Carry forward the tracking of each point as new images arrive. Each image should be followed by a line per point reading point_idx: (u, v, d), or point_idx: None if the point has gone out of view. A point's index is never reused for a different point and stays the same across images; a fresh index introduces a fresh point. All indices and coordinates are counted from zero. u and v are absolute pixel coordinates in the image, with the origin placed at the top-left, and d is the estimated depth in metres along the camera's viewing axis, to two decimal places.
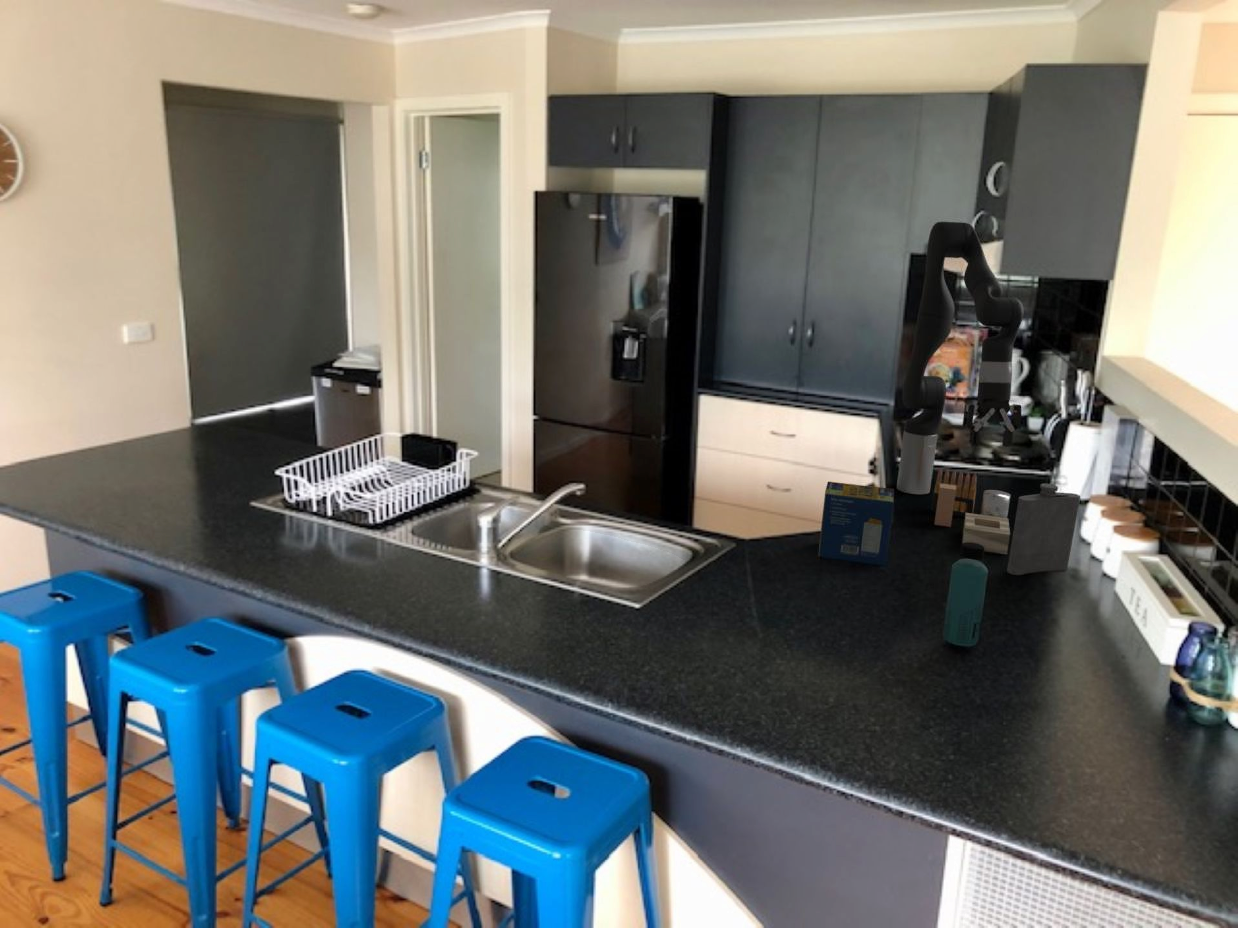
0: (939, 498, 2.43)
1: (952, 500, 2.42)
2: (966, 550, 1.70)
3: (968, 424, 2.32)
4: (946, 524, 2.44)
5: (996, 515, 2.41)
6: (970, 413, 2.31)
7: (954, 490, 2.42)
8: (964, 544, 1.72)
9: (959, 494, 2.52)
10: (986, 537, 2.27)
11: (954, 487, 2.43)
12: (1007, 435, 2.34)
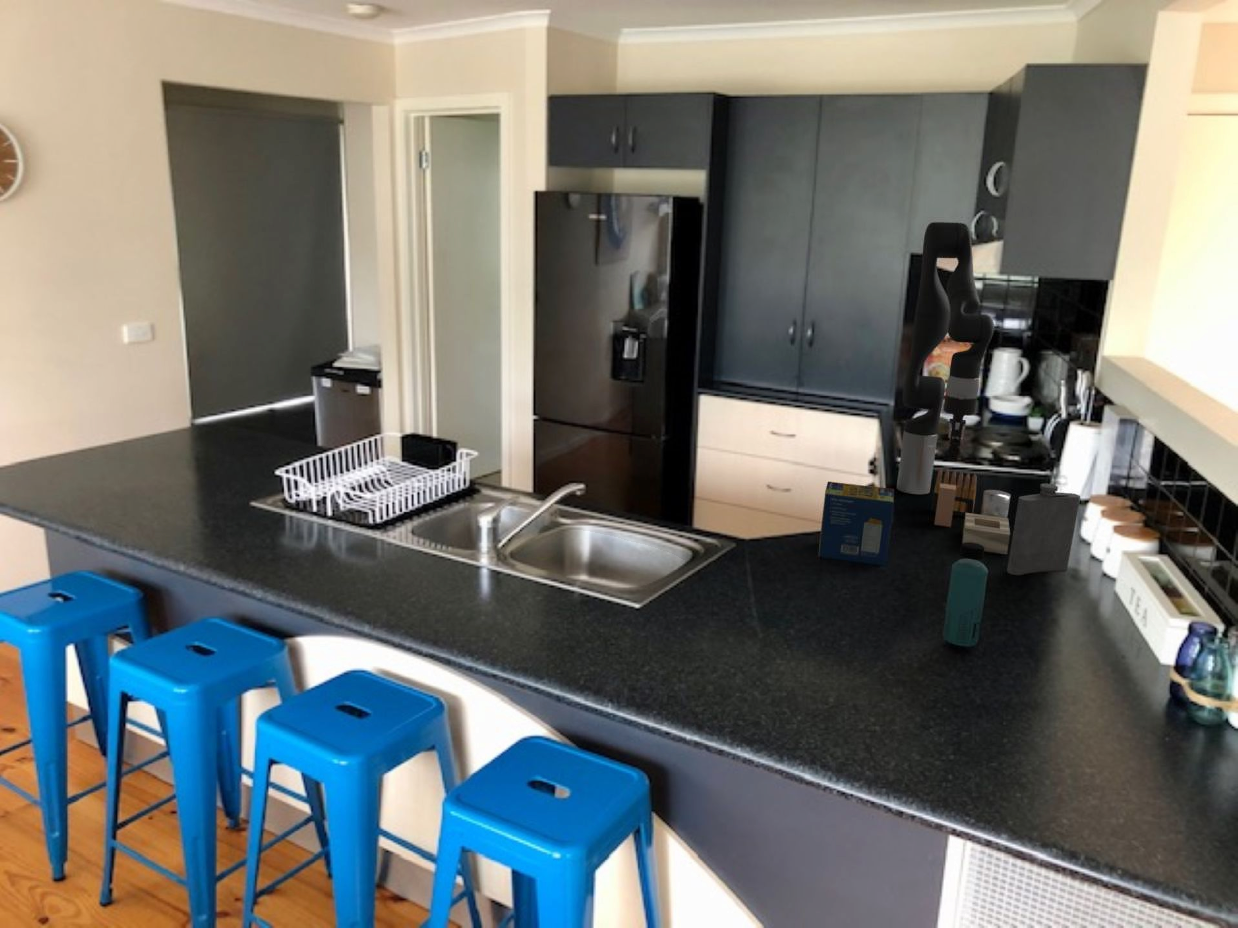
0: (939, 498, 2.43)
1: (952, 500, 2.42)
2: (966, 550, 1.70)
3: None
4: (946, 524, 2.44)
5: (996, 515, 2.41)
6: (961, 431, 2.33)
7: (954, 490, 2.42)
8: (964, 544, 1.72)
9: (959, 494, 2.52)
10: (986, 537, 2.27)
11: (954, 487, 2.43)
12: None
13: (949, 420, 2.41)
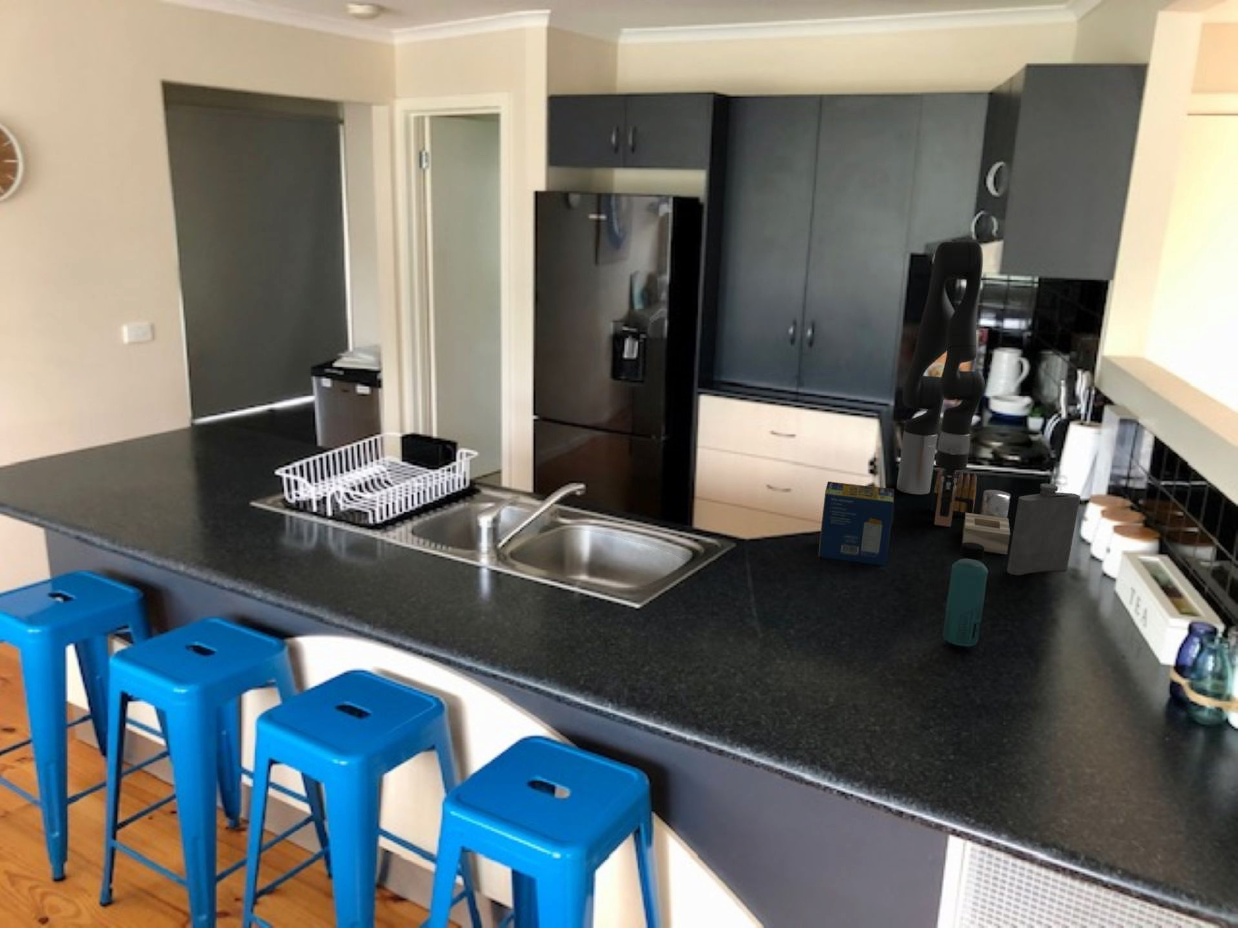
0: (939, 498, 2.43)
1: (952, 500, 2.42)
2: (966, 550, 1.70)
3: (951, 499, 2.39)
4: (946, 524, 2.44)
5: (996, 515, 2.41)
6: (952, 490, 2.38)
7: None
8: (964, 544, 1.72)
9: (959, 494, 2.52)
10: (986, 537, 2.27)
11: None
12: None
13: None
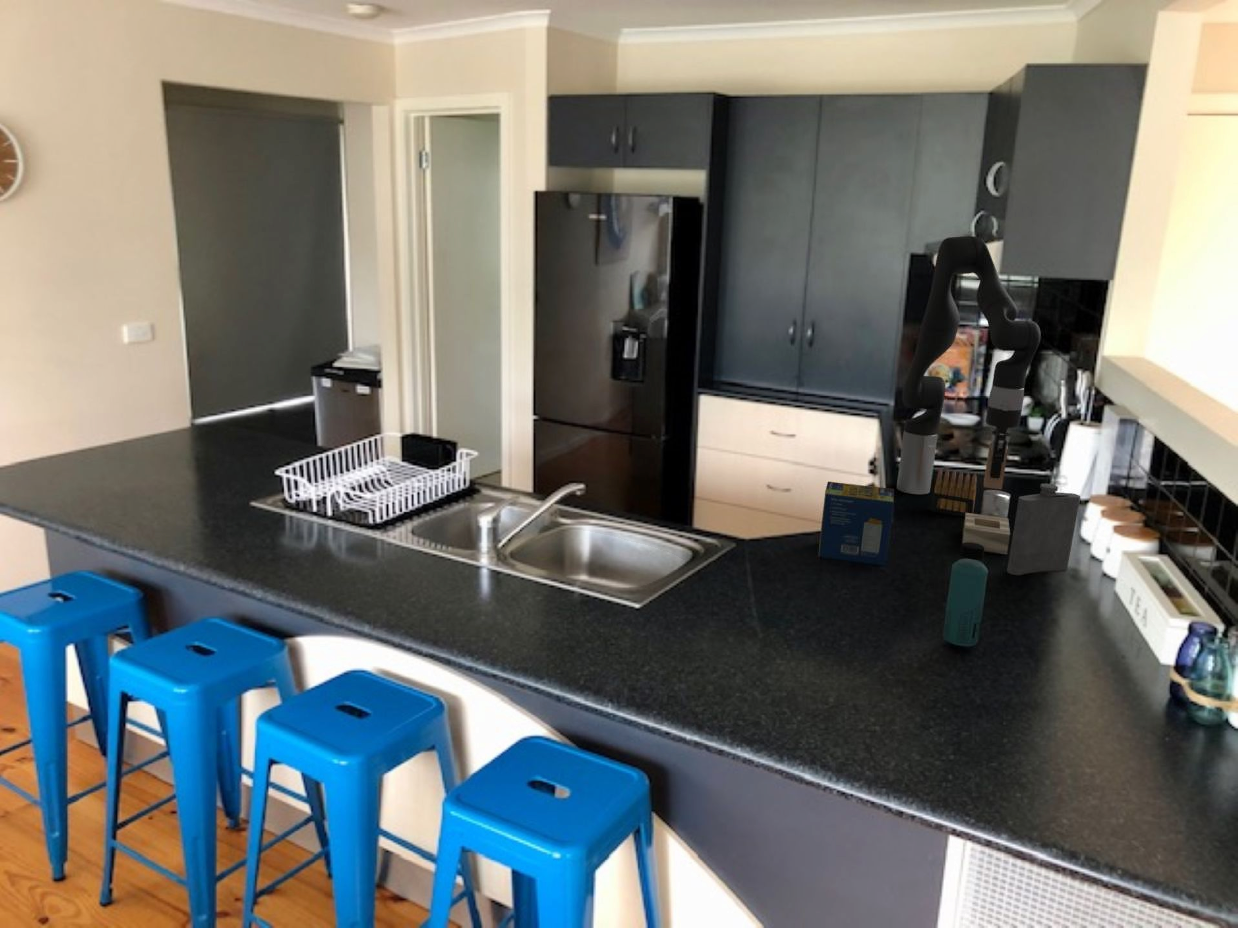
0: (989, 458, 2.26)
1: (1004, 460, 2.25)
2: (966, 550, 1.70)
3: (1003, 459, 2.22)
4: (997, 486, 2.27)
5: (996, 515, 2.41)
6: (1005, 449, 2.21)
7: None
8: (964, 544, 1.72)
9: (959, 494, 2.52)
10: (986, 537, 2.27)
11: None
12: None
13: (992, 432, 2.27)
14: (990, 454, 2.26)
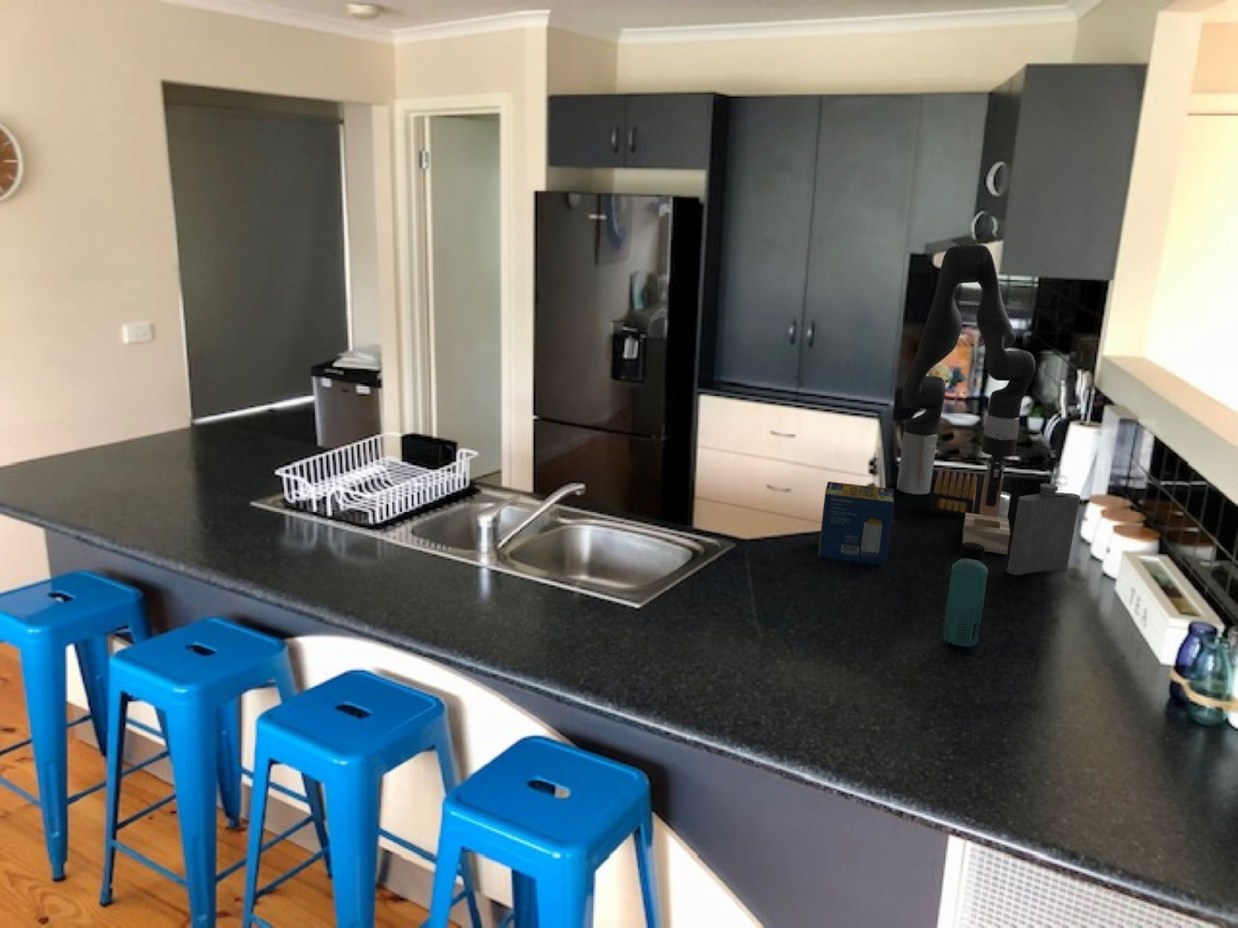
0: (985, 487, 2.28)
1: None
2: (966, 550, 1.70)
3: (998, 488, 2.24)
4: (992, 514, 2.29)
5: None
6: (1000, 478, 2.23)
7: None
8: (964, 544, 1.72)
9: (959, 494, 2.52)
10: (986, 537, 2.27)
11: None
12: None
13: (987, 460, 2.29)
14: (986, 482, 2.28)
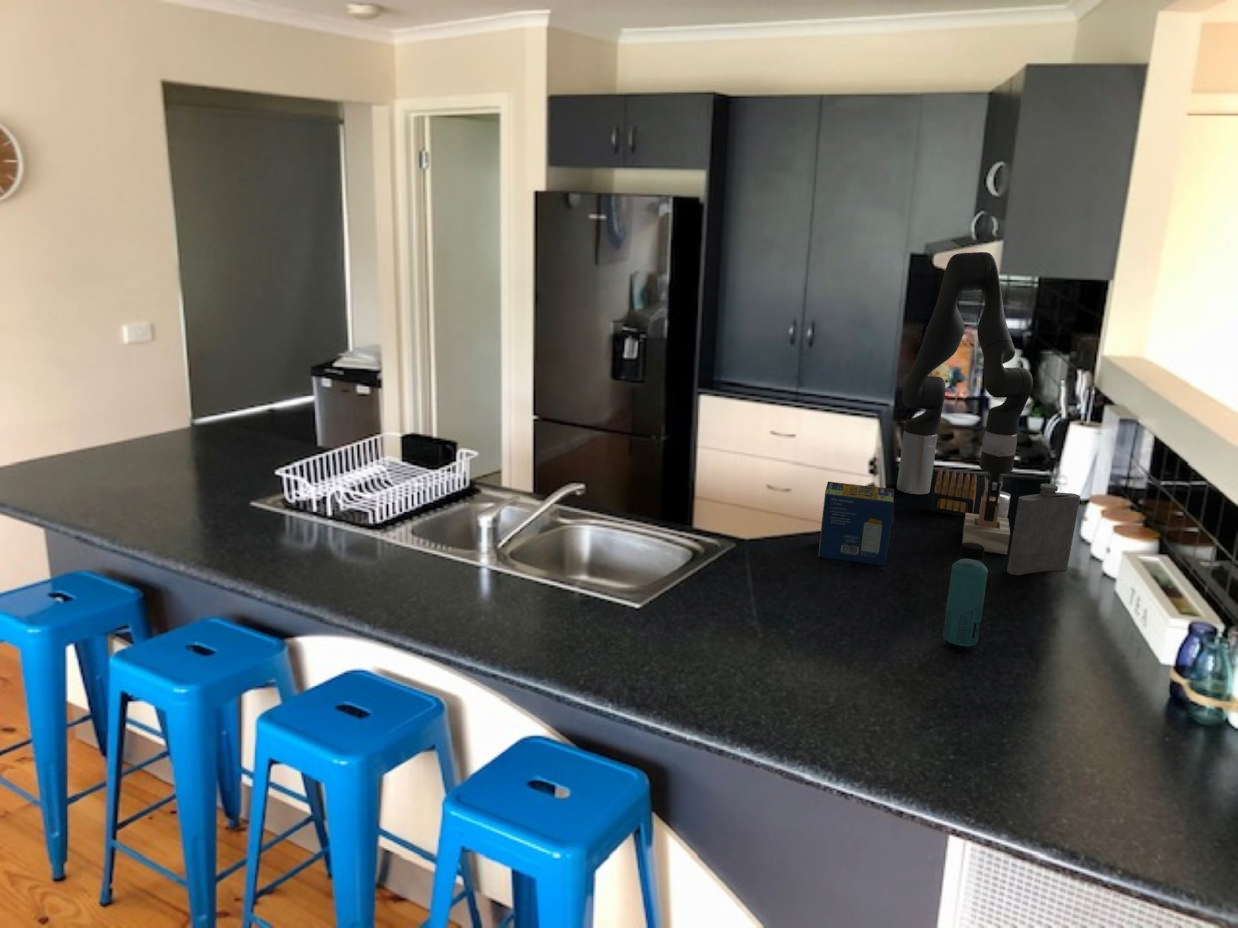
0: (981, 512, 2.30)
1: (995, 514, 2.29)
2: (966, 550, 1.70)
3: (997, 502, 2.24)
4: None
5: None
6: (999, 491, 2.23)
7: (998, 503, 2.28)
8: (964, 544, 1.72)
9: (959, 494, 2.52)
10: (986, 537, 2.27)
11: None
12: None
13: (985, 476, 2.30)
14: (982, 508, 2.30)
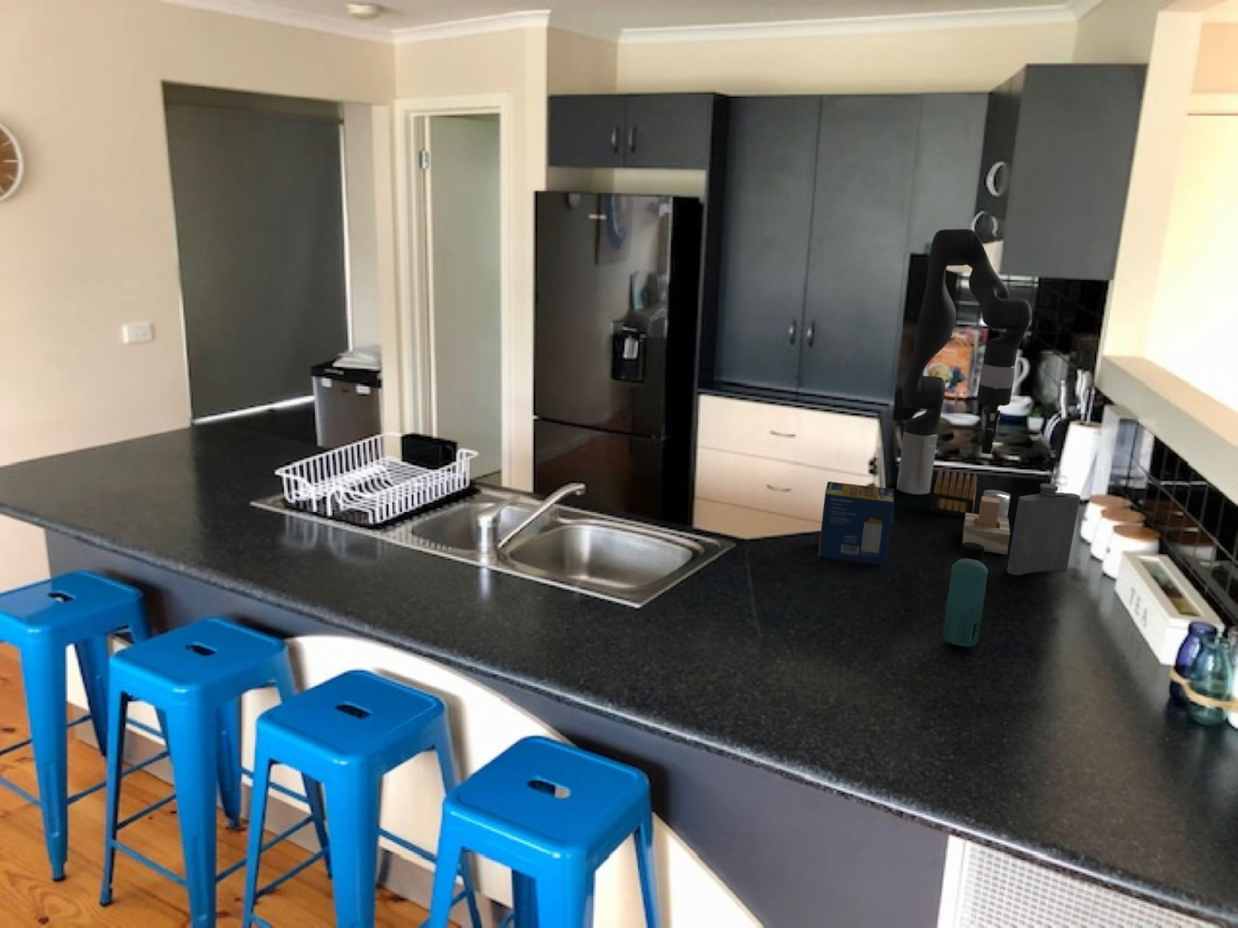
0: (981, 512, 2.30)
1: (995, 514, 2.29)
2: (966, 550, 1.70)
3: None
4: None
5: None
6: (997, 422, 2.22)
7: (998, 503, 2.28)
8: (964, 544, 1.72)
9: (959, 494, 2.52)
10: (986, 537, 2.27)
11: (997, 500, 2.30)
12: None
13: None
14: (982, 508, 2.30)
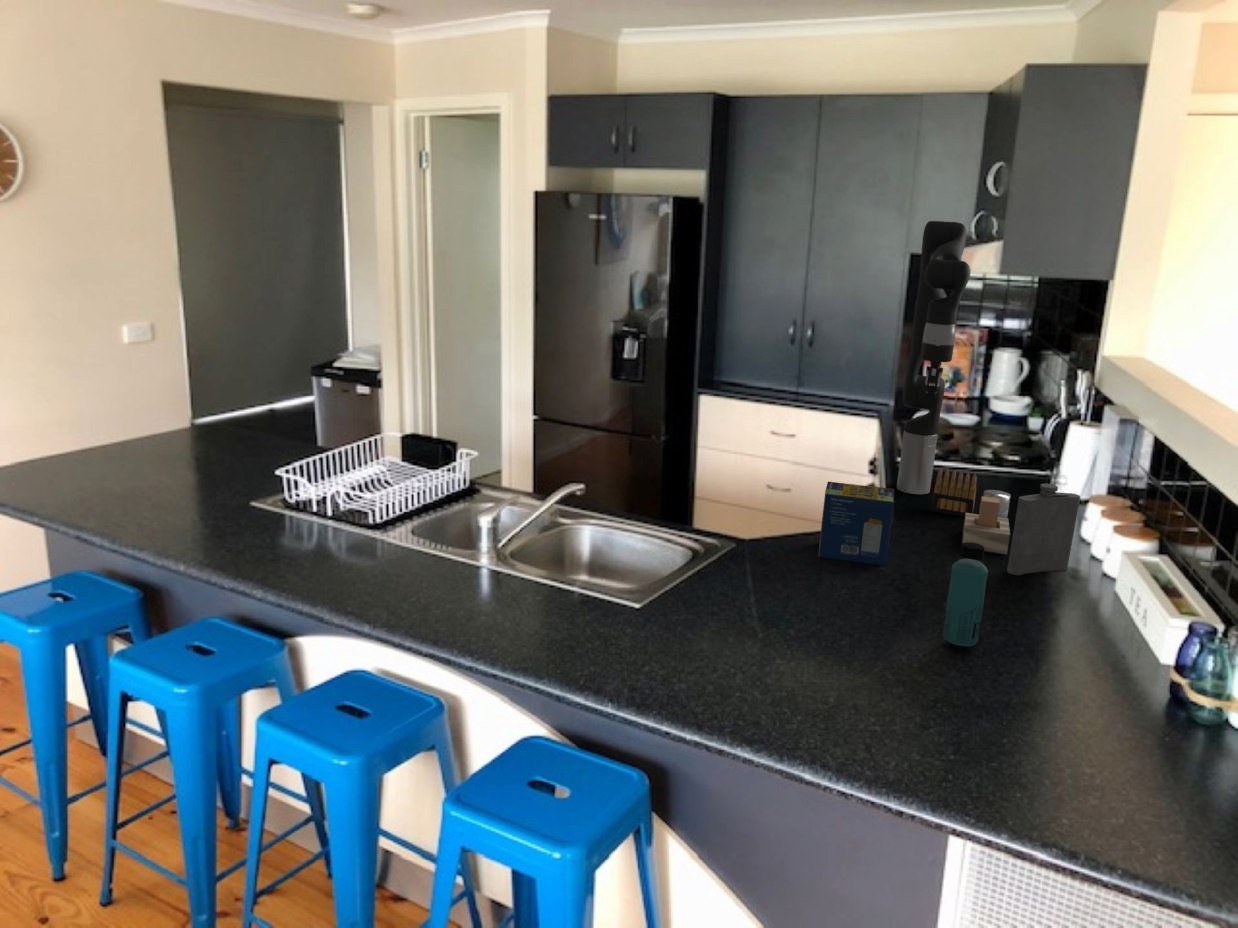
0: (981, 512, 2.30)
1: (995, 514, 2.29)
2: (966, 550, 1.70)
3: (936, 388, 2.34)
4: None
5: None
6: (938, 377, 2.34)
7: (998, 503, 2.28)
8: (964, 544, 1.72)
9: (959, 494, 2.52)
10: (986, 537, 2.27)
11: (997, 500, 2.30)
12: None
13: (926, 368, 2.41)
14: (982, 508, 2.30)
